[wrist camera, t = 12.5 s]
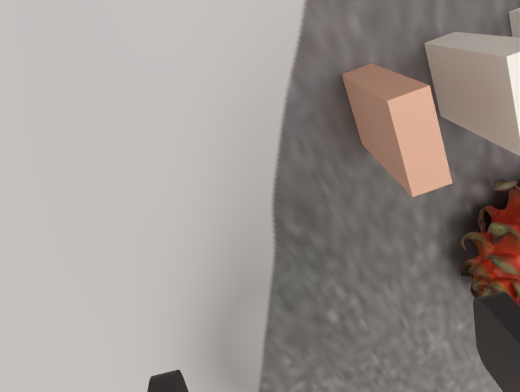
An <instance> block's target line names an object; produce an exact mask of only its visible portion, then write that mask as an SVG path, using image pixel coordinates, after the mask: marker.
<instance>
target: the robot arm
mask: <svg viewBox="0 0 520 392" xmlns="http://www.w3.org/2000/svg"><path fill="white" fill-rule="evenodd" d="M473 308H474V320H475V333H476V344H477V349H478V352H479V355H480V358H481V360H482V362H483V364H484V366H485V367H486V369H487V370H488V372H489V373H490V374H491V376H492V377H493V378H494V380H495V381H496V383H497V384H498V385H499V387H500V388H501V389H502V391H503V392H520V306H519V305H518V304H517V303H516V302H515V301H514V300H513V299H512V298H511V297H510V296H509V295H508V294H507V293H506V292H504V291H502V292H498V293H494V294H489V295H485V296H481V297H477V298H475V299H474V301H473ZM148 392H188V389H187V386H186V384H185V381H184V378H183V376H182V374H181V372H180V371H179V370H176V371H171V372H167V373H163V374H159V375H155V376H152V377H151V378H150V381H149V386H148Z"/></svg>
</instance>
